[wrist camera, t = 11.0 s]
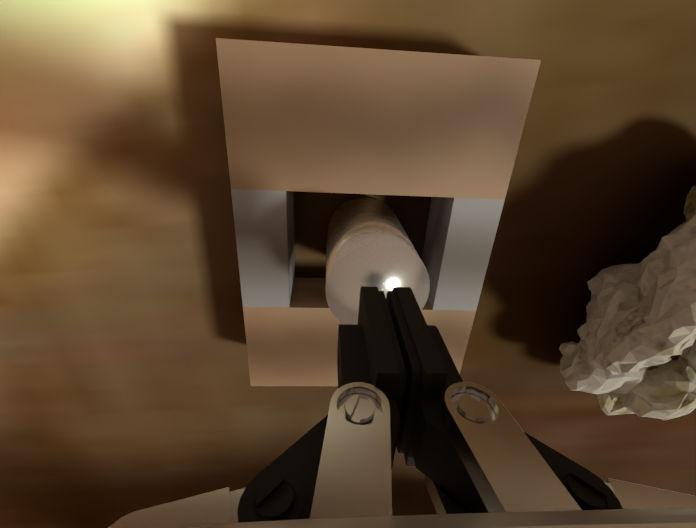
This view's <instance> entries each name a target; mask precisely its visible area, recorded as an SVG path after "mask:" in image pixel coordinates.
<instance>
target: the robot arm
mask: <svg viewBox="0 0 696 528" xmlns="http://www.w3.org/2000/svg"><path fill="white" fill-rule="evenodd" d="M337 371H338V389H337V391H336V392H335V393H334V394H333V396H332V399H331V402H330V408H329V413H328V415H327V416H326V417H325V418H324V419H322V420H321V421H320V422H319V423H318V424H317V425H315V426H314V427H313V428H312V429H311V430H310V431H308V432H307V433H306V434H305V435H304V436H303V437H301V438H300V439H299V440H298V441H297V442H296V443H294V444H293V445H292V446H291V447H290V448H289V449H287V450H286V451H285V452H284V453H283V454H282V455H280V456H279V457H278V458H277V459H276V460H275V461H273V462H272V463H271V464H270V465H269V466H268V467H266V468H265V469H264V470H263V471H262V472H261V473H259V474H258V475H257V476H256V477H255V478H254V479H253V480H252V481H251V482H250V483H249V484H248V485H247V486H246V488H242V489H238V490H234V491H230V489H229V487H227V488H223V489H219V490H215V491H211V492H208V493H204V494H200V495H196V496H192V497H188V498H185V499H181V500H177V501H173V502H169V503H165V504H161V505H158V506H154V507H150V508H146V509H142V510H138V511H135V512H133V513H130V514H128V515H126V516H123V517H121V518H120V519H119V520H117V521H116V522H115V523H114V524H112V525H111V526H110V527H108V528H696V496H693V495H688V494H683V493H678V492H673V491H668V490H663V489H659V488H654V487H649V486H644V485H639V484H634V483H629V482H624V481H619V480H615V479H610V478H608V479H607V480H606V482H603V481H602V480H601V479H600V478H599V477H597V476H596V475H594V474H593V473H592V472H590V471H589V470H587V469H585V468H584V467H582V466H580V465H579V464H577V463H575V462H574V461H572V460H570V459H569V458H567V457H565V456H564V455H562V454H560V453H559V452H557V451H555V450H553V449H552V448H550V447H548V446H547V445H545V444H543V443H542V442H540V441H538V440H537V439H535V438H533V437H532V436H530V435H528V434H527V433H525V432H523V430H522V429H521V428H520V426H519V425H518V424H517V422H516V421H515V420H514V418H513V417H512V416H511V414H510V413H509V412H508V410H507V409H506V408H505V406H504V405H503V404H502V402H501V401H500V400H499V399H498V398H497V397H496V396H495V394H494V393H492V392H491V391H489V390H488V389H486V388H485V387H482V386H480V385H478V384H475V383H470V382H463V381H462V379H461V376H460V374H459V372H458V370H457V368H456V366H455V364H454V362H453V360H452V357H451V355H450V353H449V351H448V349H447V347H446V345H445V343H444V341H443V339H442V336H441V334H440V332H439V330H438V328H437V327H436V326H435V325H427V324H426V321H425V319H424V317H423V314H422V312H421V310H420V308H419V305H418V303H417V301H416V298H415V296H414V294H413V291H412V289H411V288H410V287H394V288H393V291H388V292H387V297H386V298H385V294H384V291H378V287H369V286H361V289H360V300H359V312H358V325H355V324H339V327H338V347H337ZM396 447H397V451H398V453H404V456H405V461H406V465H407V466H416V468H417V469H419V470H420V471H421V472H422V473H424V474H425V483H426V487H427V490H428V492H429V495H430V497H431V500H432V502H433V505H434V507H435V510H436V512H437V514H433V515H402V516H392V484H391V469H392V466H393V460H394V454H395V449H396Z"/></svg>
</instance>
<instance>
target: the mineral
mask: <svg viewBox="0 0 696 528" xmlns="http://www.w3.org/2000/svg"><path fill="white" fill-rule="evenodd" d="M683 214H684V215H685V216H686V222H684V223H683V224H681V225H679V226H678V227H677V228H675V229H674V230H673V231H672V232H670V233H669V234H668V235H666V236H664V237H662V239H661V241H660V243H659V245H658V247H657V248H656V250H655V251H654V252H652V253H650V254H649V256H647V257H646V258H644V259H643V260H642V262H640V263H638V264H622V265H614V266H611V267H608V268H605V269H603V270H601V271H600V272H599V273H598V274H597V275H596V276H595V277H594V278H592V279H591V280H589V281H588V282H587V283H588V288H589V291H591V300H590V302H589V303H588V305H587V306H586V310H587V322H586V323H585V324H583V325H582V326H581V327H580V328H579V329H578V330H577V332H578V335H579V336H580V342H579V343H576V342H574V341H571V342H567V343H562V344H561V345H560V348H559V350H560V351H561V353H562V355H563V356H562V358H561V360H560V368H559V371H560V372H561V374H562V375H563V377H564V382H565V384H566V385H567V386H568V388H569V389H570V390H576V391H583V392H588V393H593V394H596V395H597V397H598V400H599V403H600V406H601V409H602V411H603V412H604V413H605V414H606V415H620V414H637V415H639V416H641V417H651V418H658V419H662V420H664V421H665V420H669V419H672V418H676V417H680V416H683V415H686V414H689V413H691V412H692V411H693V410H694V409H695V408H696V186H694V187H692V188H691V190H690V192H689V193H688V195H687V197H686V202H685V206H684V213H683Z"/></svg>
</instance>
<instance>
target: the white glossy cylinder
mask: <svg viewBox="0 0 696 528" xmlns="http://www.w3.org/2000/svg"><path fill="white" fill-rule="evenodd" d="M361 286H369V287H378V291H384V294H385V298H386V297H387V292H388V291H393V288H394V287H410V288H411V289H412V291H413V294H414V296H415V298H416V301H417V303H418V305H419V308H420V310H422V309H423V307H424V305H425V304H426V301H427V299H428V295H429V291H430V280H429V275H428V272H427V269H426V267H425V265H424V264H423V262H422V260H421V258H420V257H419V255H418V253H417V251H416V250H415V248H414V246H413V244H412V243H411V241H410V239H409V237H408V236H407V234H406V232H405V231H404V229H403V227H402V225H401V224H400V222H399V220H398V218H397V217H396V215H395V213H394V212H393V210H392V209H391V208H390V207H389V206H388V205H387V204H385V203H384V202H382V201H380V200H378V199H375V198H370V197H359V198H354V199H351V200H349V201H347V202H345V203H343V204H342V205H341V206H339V207H338V208H337V209H336V210H335V212H334V213H333V215H332V216H331V218H330V221H329V224H328V229H327V256H326V288H325V291H326V300H327V303H328V306H329V308H330V310H331V312H332V313H333V315H334V316H335V317H336V318H337V319H338V320H339V321H340V322H341V323H342V324H355V325H358V312H359V300H360V289H361Z"/></svg>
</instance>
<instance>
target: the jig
mask: <svg viewBox="0 0 696 528" xmlns="http://www.w3.org/2000/svg"><path fill="white" fill-rule="evenodd" d="M216 48H217V57H218V67H219V77H220V87H221V97H222V107H223V117H224V126H225V136H226V146H227V156H228V166H229V176H230V186H231V196H232V205H233V215H234V225H235V235H236V245H237V255H238V265H239V274H240V284H241V294H242V304H243V314H244V324H245V334H246V343H247V353H248V363H249V373H250V383H251V386H338V371H337V347H338V327H339V324H342V323H341V322H340V321H339V320H338V319H337V318H336V317H335V316H334V315H333V313H332V312H331V310H330V308H329V306H328V303H327V300H326V291H325V288H326V278H304V277H295V233H294V191H297V192H323V193H348V194H374V195H399V196H425V197H431V203H430V210H429V216H428V222H427V228H426V234H425V241H424V247H423V253H422V259H421V260H422V262H423V264H424V265H425V267H426V269H427V272H428V275H429V280H430V291H429V295H428V299H427V301H426V304H425V305H424V307H423V309H422V310H421V312H422V314H423V317H424V319H425V321H426V324H427V325H435V326H436V327H437V328H438V330H439V332H440V334H441V336H442V339H443V341H444V343H445V345H446V347H447V349H448V351H449V353H450V355H451V357H452V360H453V362H454V364H455V366H456V368H457V370H458V372H459V374H460V371H461V367H462V363H463V359H464V355H465V351H466V347H467V344H468V340H469V336H470V332H471V328H472V324H473V320H474V317H475V313H476V309H477V305H478V301H479V297H480V293H481V290H482V286H483V282H484V278H485V274H486V270H487V266H488V263H489V259H490V255H491V251H492V247H493V243H494V239H495V236H496V232H497V228H498V224H499V220H500V216H501V212H502V209H503V205H504V201H505V197H506V193H507V189H508V185H509V182H510V178H511V174H512V170H513V166H514V162H515V158H516V155H517V151H518V147H519V143H520V139H521V135H522V131H523V128H524V124H525V120H526V116H527V112H528V108H529V104H530V101H531V97H532V93H533V89H534V85H535V81H536V77H537V74H538V70H539V66H540V62H541V60H532V59H518V58H503V57H488V56H473V55H459V54H444V53H429V52H414V51H400V50H385V49H370V48H356V47H341V46H326V45H311V44H297V43H282V42H267V41H252V40H238V39H223V38H216Z"/></svg>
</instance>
